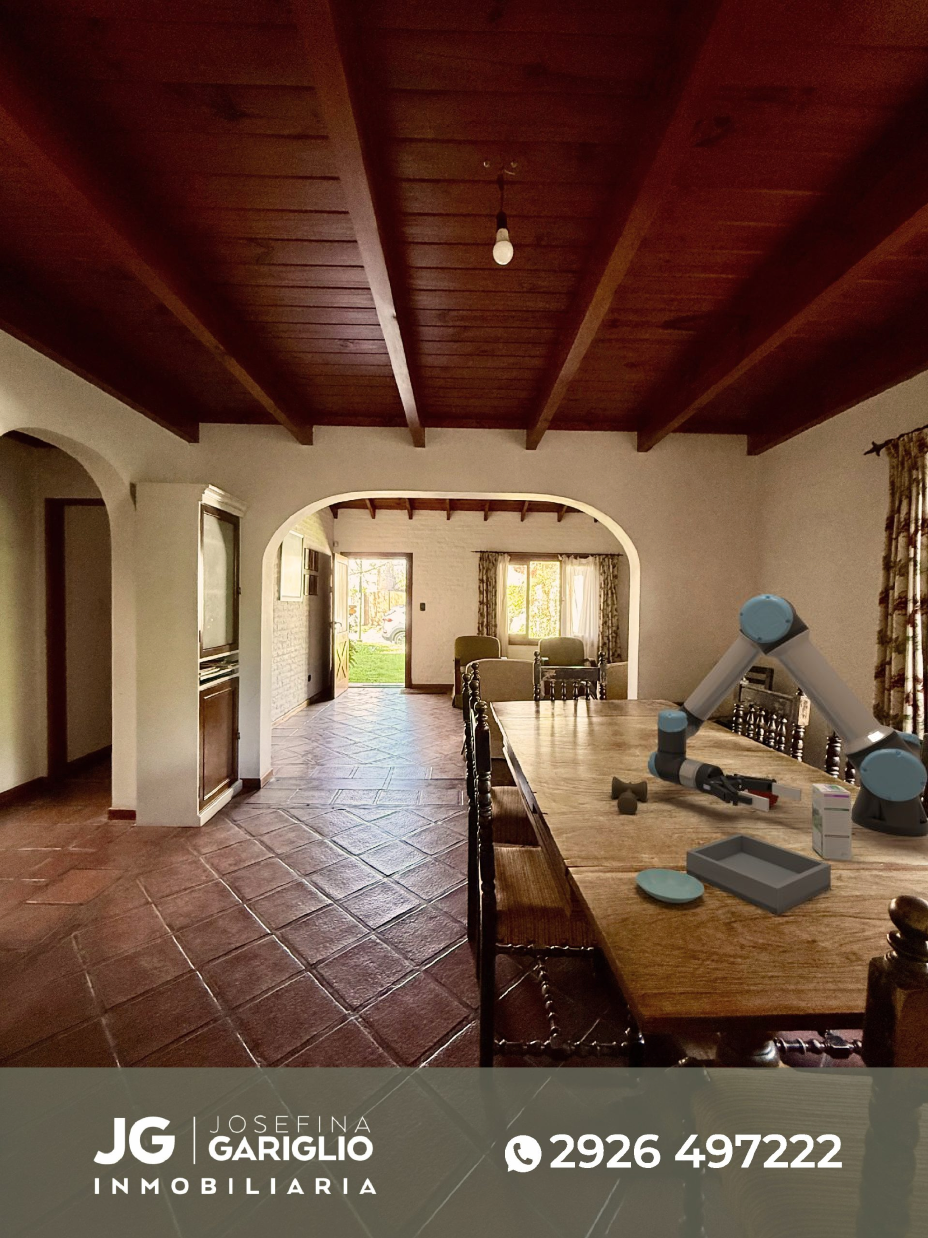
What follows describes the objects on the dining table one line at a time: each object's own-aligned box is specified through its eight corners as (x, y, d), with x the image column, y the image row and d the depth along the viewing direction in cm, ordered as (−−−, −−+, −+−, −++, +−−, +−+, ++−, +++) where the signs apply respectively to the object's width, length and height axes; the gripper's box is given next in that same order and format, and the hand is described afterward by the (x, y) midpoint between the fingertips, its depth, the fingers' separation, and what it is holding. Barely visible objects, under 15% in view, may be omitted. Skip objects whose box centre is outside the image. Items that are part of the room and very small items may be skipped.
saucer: (646, 874, 112) (647, 862, 111) (710, 891, 105) (710, 878, 105) (626, 898, 102) (626, 885, 102) (695, 918, 95) (695, 905, 95)
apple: (772, 801, 155) (772, 773, 155) (785, 811, 147) (785, 781, 147) (742, 800, 156) (742, 772, 156) (754, 810, 148) (754, 780, 148)
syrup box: (852, 861, 117) (853, 792, 117) (821, 859, 118) (821, 790, 118) (840, 850, 123) (840, 784, 123) (810, 848, 124) (810, 782, 124)
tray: (740, 854, 121) (740, 833, 121) (830, 888, 105) (830, 864, 105) (686, 873, 111) (686, 851, 111) (777, 915, 96) (777, 889, 96)
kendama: (607, 815, 146) (612, 790, 165) (646, 820, 143) (647, 794, 162) (608, 792, 146) (613, 770, 164) (647, 797, 142) (648, 774, 161)
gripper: (730, 784, 153) (812, 807, 135) (671, 799, 140) (753, 827, 122) (731, 756, 153) (813, 776, 135) (671, 769, 140) (753, 792, 122)
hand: (784, 800), depth 129 cm, fingers open, 13 cm apart
